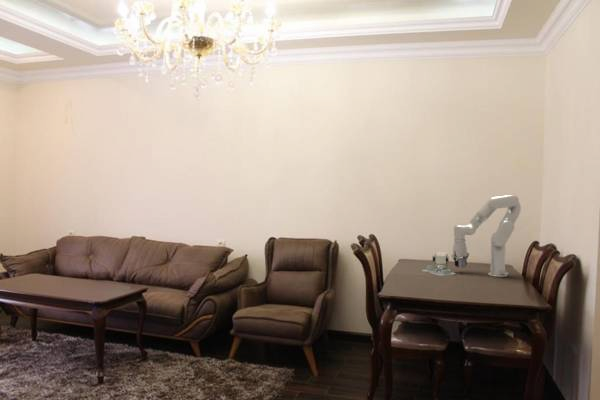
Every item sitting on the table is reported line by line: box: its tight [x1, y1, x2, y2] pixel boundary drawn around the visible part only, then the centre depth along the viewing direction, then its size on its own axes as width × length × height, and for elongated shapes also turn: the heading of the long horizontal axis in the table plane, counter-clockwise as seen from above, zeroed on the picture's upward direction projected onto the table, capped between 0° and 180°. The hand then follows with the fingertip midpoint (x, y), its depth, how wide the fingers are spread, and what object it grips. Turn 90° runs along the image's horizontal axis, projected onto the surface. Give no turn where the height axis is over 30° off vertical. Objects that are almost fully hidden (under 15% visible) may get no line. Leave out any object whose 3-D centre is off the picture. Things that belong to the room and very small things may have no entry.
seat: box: [421, 264, 456, 277], centre depth 342 cm, size 20×14×6 cm
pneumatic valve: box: [432, 253, 449, 270], centre depth 360 cm, size 6×12×12 cm, turn 76°
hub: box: [455, 257, 467, 269], centre depth 344 cm, size 7×7×6 cm
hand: (460, 265), depth 344 cm, fingers closed on hub, 7 cm apart
